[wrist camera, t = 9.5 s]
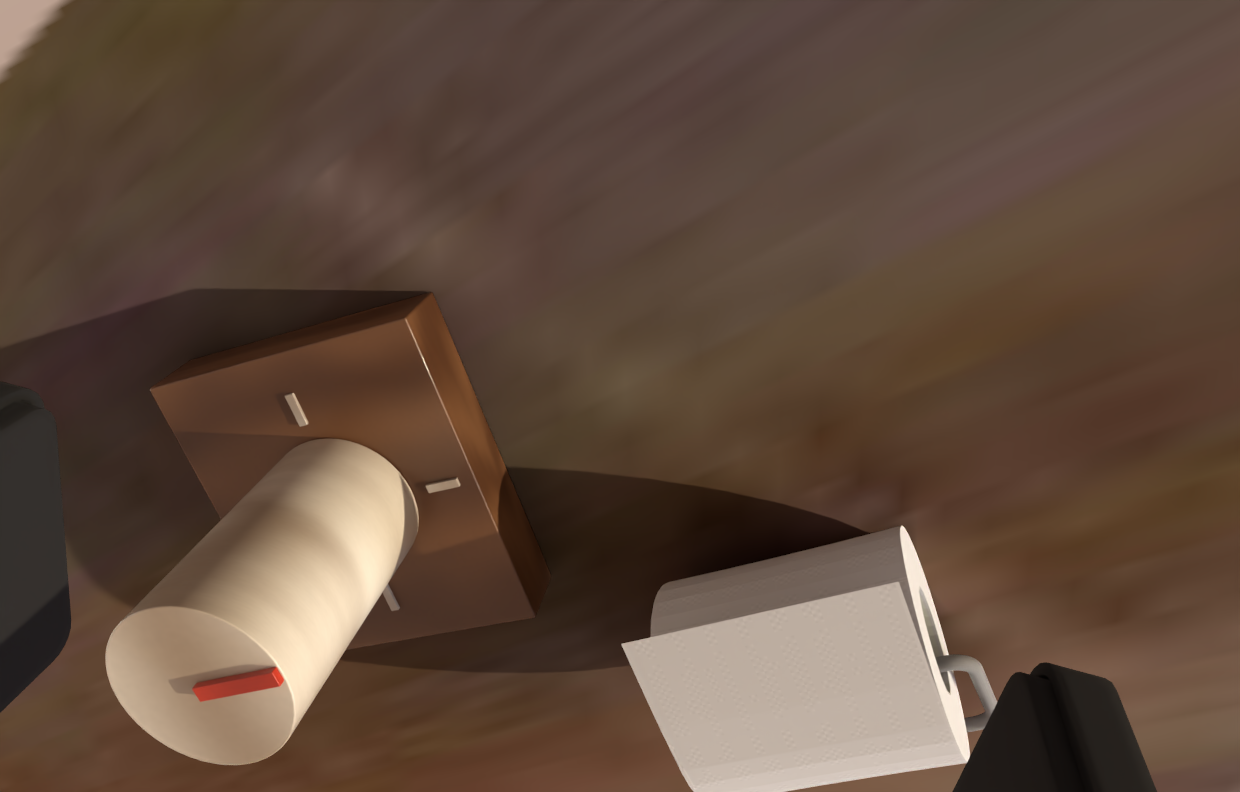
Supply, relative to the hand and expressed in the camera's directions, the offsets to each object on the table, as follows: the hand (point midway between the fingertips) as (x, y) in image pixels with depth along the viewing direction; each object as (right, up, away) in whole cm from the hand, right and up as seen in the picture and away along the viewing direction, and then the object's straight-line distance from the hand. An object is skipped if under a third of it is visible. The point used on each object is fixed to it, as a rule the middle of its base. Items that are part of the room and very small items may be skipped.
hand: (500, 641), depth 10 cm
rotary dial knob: (-10, -2, +31) cm, 33 cm away
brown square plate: (-10, -1, +34) cm, 36 cm away
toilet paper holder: (+10, -8, +34) cm, 36 cm away
